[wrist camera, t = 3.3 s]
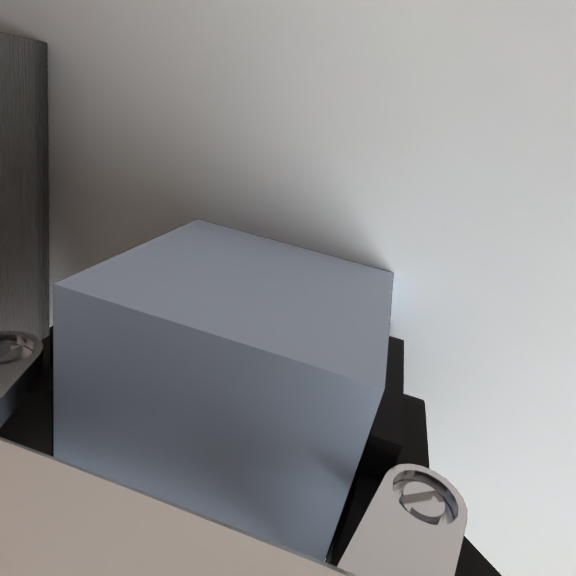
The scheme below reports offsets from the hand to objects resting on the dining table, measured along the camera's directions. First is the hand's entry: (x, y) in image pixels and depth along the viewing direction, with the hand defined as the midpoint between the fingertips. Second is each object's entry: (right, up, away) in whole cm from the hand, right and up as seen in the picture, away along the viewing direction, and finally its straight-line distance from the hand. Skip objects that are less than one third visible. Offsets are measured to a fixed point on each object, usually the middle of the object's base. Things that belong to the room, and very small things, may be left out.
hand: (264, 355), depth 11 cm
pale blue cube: (0, 0, 0) cm, 1 cm away
